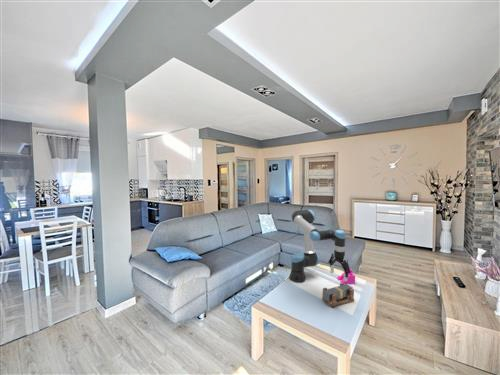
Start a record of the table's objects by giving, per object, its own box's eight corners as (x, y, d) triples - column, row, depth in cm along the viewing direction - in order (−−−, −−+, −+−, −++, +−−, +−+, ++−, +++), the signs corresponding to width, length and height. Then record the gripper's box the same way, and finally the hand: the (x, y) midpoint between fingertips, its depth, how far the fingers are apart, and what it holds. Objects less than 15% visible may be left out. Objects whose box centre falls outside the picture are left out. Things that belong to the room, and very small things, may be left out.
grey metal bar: (329, 302, 158) (329, 294, 157) (323, 297, 164) (323, 290, 163) (352, 294, 167) (352, 287, 167) (346, 290, 173) (346, 283, 172)
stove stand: (322, 299, 166) (322, 288, 166) (342, 293, 175) (343, 282, 174) (332, 308, 156) (332, 296, 156) (354, 301, 165) (354, 289, 164)
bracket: (349, 278, 200) (349, 267, 199) (354, 284, 190) (355, 273, 189) (336, 278, 200) (337, 268, 199) (341, 284, 190) (342, 273, 189)
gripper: (324, 245, 173) (323, 270, 174) (349, 257, 150) (348, 285, 151) (331, 244, 175) (330, 268, 177) (356, 255, 153) (355, 283, 154)
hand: (338, 276), depth 164 cm, fingers open, 13 cm apart
